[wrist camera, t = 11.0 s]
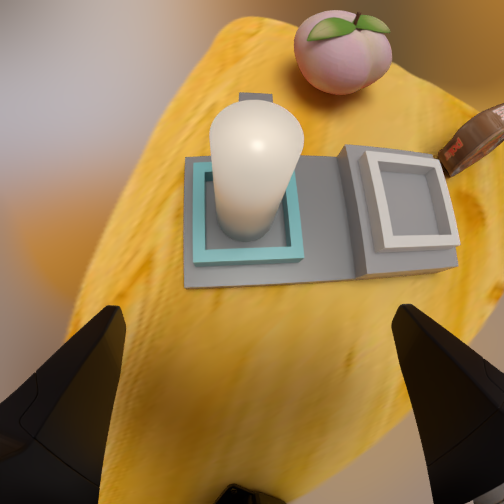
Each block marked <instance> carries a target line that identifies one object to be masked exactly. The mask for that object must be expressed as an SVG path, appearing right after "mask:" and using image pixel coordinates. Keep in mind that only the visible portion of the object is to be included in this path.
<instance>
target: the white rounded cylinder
mask: <svg viewBox="0 0 504 504" xmlns="http://www.w3.org/2000/svg"><path fill="white" fill-rule="evenodd" d="M303 145H304V135H303V131H302V128H301V126H300V124H299V122H298V121H297V119H296V118H295V117H294V116H293V115H292V114H291V113H290V112H289V111H288V110H286V109H285V108H283V107H281V106H279V105H277V104H275V103H273V98H272V94H261V93H239V102H237V103H234V104H231V105H229V106H228V107H226V108H224V109H223V110H222V111H221V112H220V113H219V114H218V115H217V116H216V117H215V119H214V120H213V122H212V125H211V128H210V148H211V160H212V171H213V182H214V192H215V202H216V212H217V220H218V224H219V226H220V228H221V230H222V231H223V232H224V233H225V234H226V235H227V236H228V237H230V238H231V239H233V240H236V241H240V242H251V241H255V240H257V239H259V238H261V237H263V236H264V235H265V234H266V233H267V232H268V230H269V229H270V227H271V225H272V222H273V220H274V217H275V215H276V213H277V210H278V208H279V205H280V203H281V200H282V198H283V196H284V193H285V191H286V188H287V186H288V184H289V181H290V179H291V176H292V174H293V171H294V169H295V167H296V164H297V162H298V159H299V157H300V154H301V152H302V149H303Z"/></svg>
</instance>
